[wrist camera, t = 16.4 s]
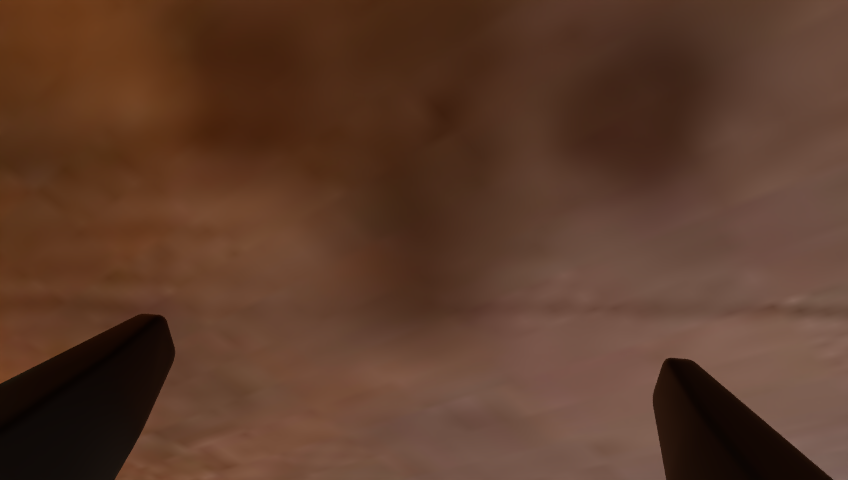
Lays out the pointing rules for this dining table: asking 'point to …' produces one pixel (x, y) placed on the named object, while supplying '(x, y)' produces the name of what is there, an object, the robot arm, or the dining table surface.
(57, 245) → the dining table surface
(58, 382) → the robot arm
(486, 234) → the dining table surface
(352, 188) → the dining table surface
